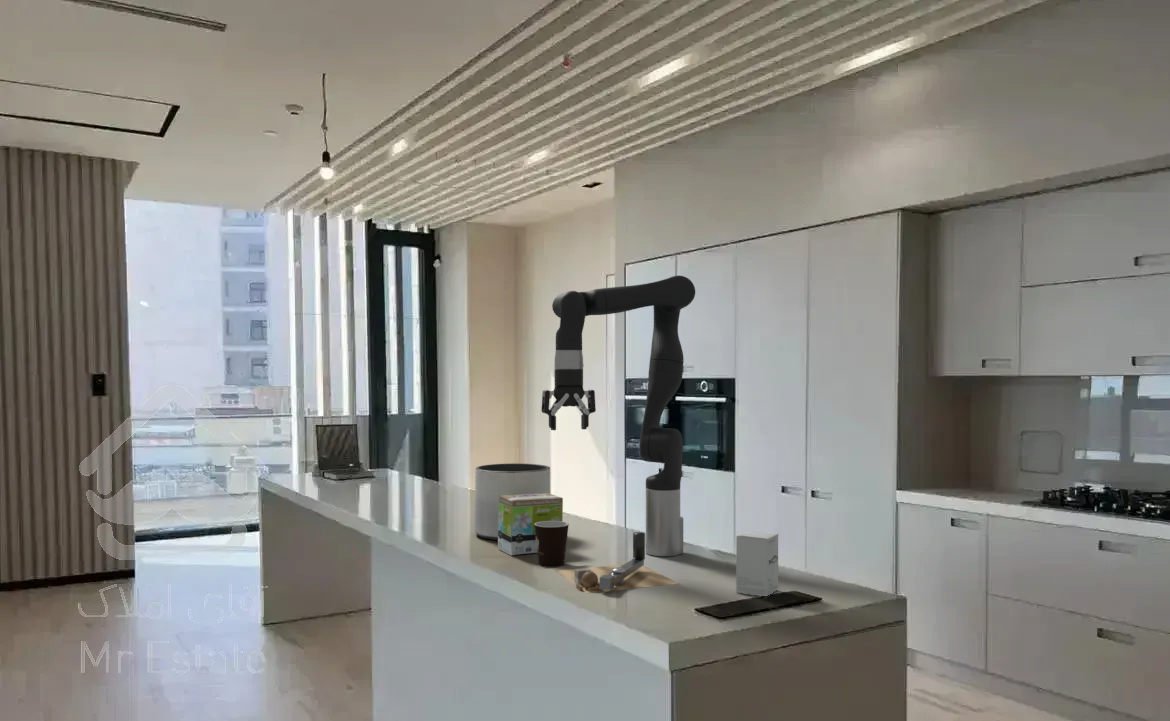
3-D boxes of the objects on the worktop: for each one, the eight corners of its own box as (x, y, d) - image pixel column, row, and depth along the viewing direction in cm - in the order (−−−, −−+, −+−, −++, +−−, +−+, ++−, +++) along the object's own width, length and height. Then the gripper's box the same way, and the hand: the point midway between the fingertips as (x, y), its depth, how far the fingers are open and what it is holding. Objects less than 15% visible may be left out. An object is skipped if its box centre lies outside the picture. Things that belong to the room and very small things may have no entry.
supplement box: (768, 598, 173) (768, 538, 173) (735, 593, 177) (735, 534, 177) (779, 590, 179) (779, 532, 179) (747, 585, 183) (747, 529, 183)
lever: (611, 590, 171) (612, 552, 171) (597, 588, 172) (597, 551, 172) (647, 566, 192) (647, 532, 193) (634, 564, 194) (634, 531, 194)
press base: (639, 568, 199) (639, 550, 199) (679, 589, 180) (679, 569, 180) (551, 576, 191) (551, 558, 191) (583, 598, 172) (583, 579, 172)
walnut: (594, 585, 178) (594, 568, 178) (600, 589, 175) (600, 572, 175) (579, 586, 177) (579, 570, 177) (585, 590, 173) (585, 574, 173)
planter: (509, 525, 257) (509, 461, 257) (565, 533, 244) (566, 466, 244) (458, 536, 239) (458, 468, 239) (516, 545, 225) (517, 473, 226)
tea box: (511, 557, 212) (511, 500, 212) (497, 549, 220) (497, 495, 221) (563, 551, 219) (563, 496, 219) (547, 544, 227) (547, 491, 228)
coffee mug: (564, 568, 198) (564, 527, 199) (530, 567, 200) (530, 526, 200) (574, 558, 210) (574, 519, 210) (542, 556, 212) (542, 518, 212)
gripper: (588, 368, 219) (588, 428, 218) (538, 367, 214) (538, 429, 213) (599, 367, 212) (599, 430, 211) (547, 367, 207) (547, 431, 206)
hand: (568, 429), depth 212 cm, fingers open, 8 cm apart
